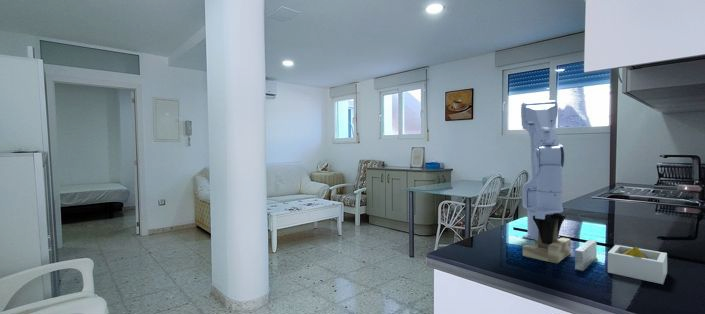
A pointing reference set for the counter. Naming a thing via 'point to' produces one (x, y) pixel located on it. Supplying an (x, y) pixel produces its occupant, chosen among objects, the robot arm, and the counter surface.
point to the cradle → (549, 251)
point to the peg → (545, 246)
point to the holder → (638, 264)
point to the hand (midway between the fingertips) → (549, 242)
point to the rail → (585, 255)
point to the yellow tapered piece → (634, 253)
